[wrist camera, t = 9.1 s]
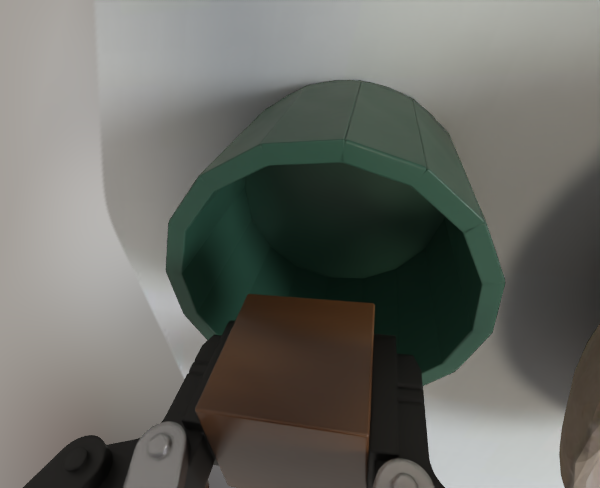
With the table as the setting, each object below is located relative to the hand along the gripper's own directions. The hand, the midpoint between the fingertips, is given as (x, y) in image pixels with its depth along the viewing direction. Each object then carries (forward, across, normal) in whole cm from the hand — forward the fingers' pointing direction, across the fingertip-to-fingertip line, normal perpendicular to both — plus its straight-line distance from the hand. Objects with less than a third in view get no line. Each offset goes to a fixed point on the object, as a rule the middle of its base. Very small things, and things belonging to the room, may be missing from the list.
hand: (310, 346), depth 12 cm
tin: (+11, 0, 0) cm, 11 cm away
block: (0, 0, 0) cm, 0 cm away
